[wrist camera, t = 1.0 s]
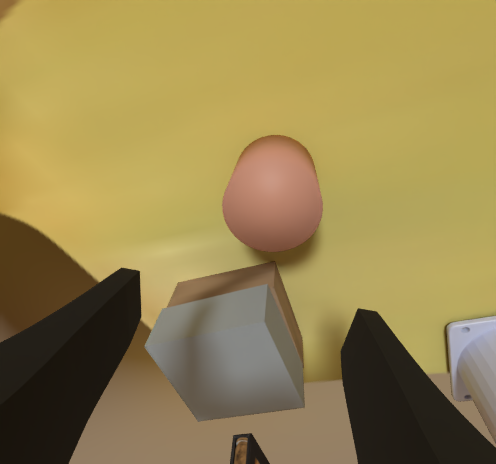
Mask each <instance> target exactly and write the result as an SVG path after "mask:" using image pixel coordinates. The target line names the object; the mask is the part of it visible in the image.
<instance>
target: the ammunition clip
mask: <svg viewBox="0 0 496 464" xmlns="http://www.w3.org/2000/svg"><path fill="white" fill-rule="evenodd" d="M230 464H270V463H269V462H268V460H267V458H266V457H265V455H264V453H263V452H262V450H261V448H260V447H259V445H258V443H257V442H256V440H255V438H254V437H253V435H252V433H249V434H240V435H234V436H233V443H232V452H231V459H230Z"/></svg>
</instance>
